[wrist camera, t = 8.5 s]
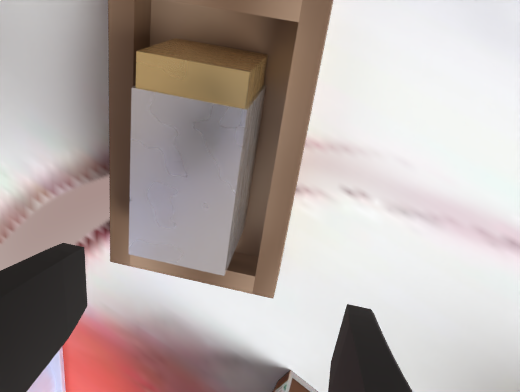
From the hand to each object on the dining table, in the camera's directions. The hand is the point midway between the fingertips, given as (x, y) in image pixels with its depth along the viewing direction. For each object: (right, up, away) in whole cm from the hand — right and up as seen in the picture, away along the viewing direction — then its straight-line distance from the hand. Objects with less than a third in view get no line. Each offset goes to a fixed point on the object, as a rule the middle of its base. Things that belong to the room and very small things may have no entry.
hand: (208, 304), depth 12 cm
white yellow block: (-1, +5, +8) cm, 9 cm away
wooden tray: (-1, +6, +8) cm, 10 cm away
